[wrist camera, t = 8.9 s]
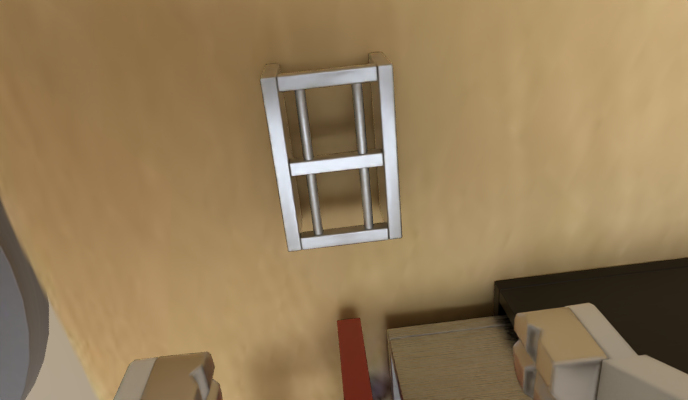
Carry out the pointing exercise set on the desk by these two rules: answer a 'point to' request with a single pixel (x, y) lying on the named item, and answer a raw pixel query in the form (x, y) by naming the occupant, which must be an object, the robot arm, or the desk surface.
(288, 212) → the rack
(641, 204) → the desk surface
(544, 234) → the desk surface
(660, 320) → the black drawer cabinet
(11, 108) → the desk surface
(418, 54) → the desk surface
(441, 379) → the drawer
